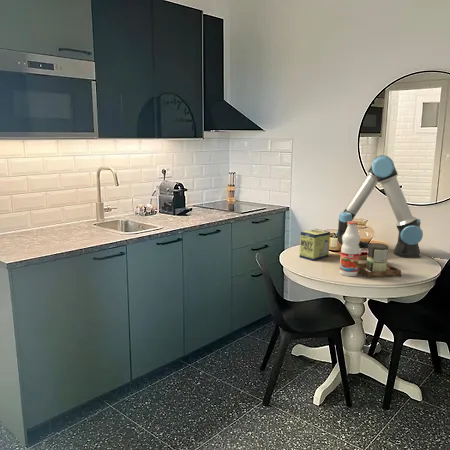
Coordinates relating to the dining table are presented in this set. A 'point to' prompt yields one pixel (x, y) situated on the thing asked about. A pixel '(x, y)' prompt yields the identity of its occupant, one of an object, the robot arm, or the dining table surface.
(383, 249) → the coffee can
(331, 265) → the dining table surface
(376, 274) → the tray
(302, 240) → the protein box
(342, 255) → the fruit juice
